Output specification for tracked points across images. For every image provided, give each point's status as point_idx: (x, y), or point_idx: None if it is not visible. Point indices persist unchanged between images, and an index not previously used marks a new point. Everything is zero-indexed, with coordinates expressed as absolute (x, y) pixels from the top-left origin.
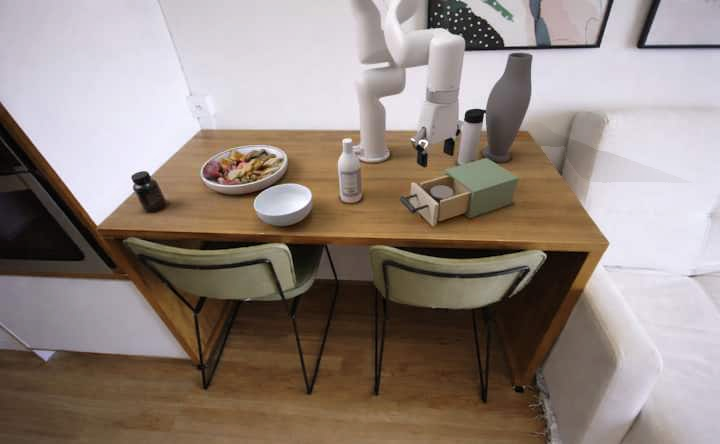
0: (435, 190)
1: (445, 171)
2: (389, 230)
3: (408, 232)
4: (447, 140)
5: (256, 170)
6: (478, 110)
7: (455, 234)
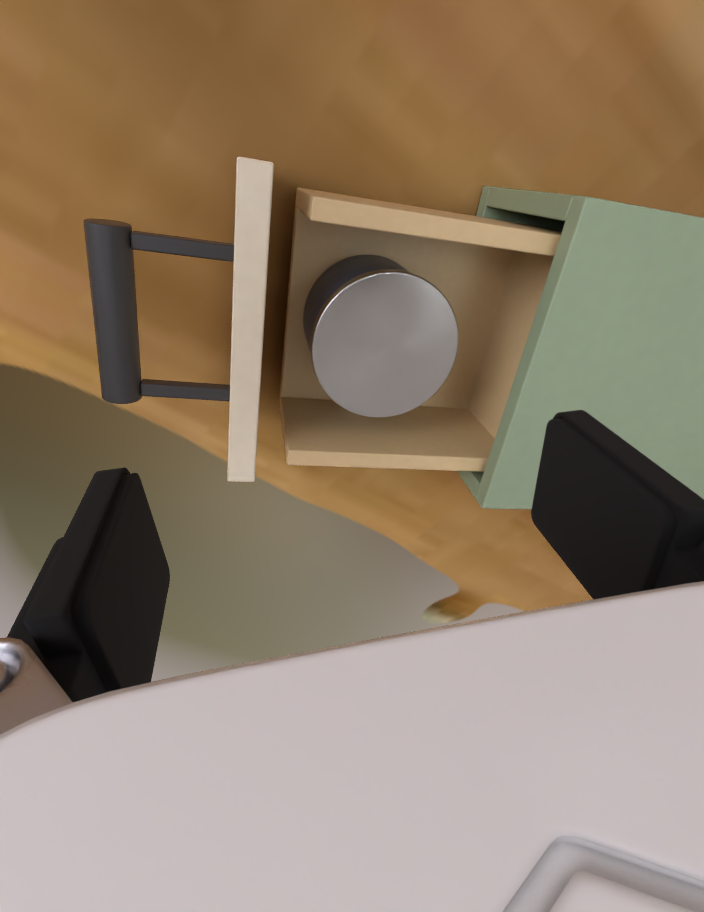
0: (361, 318)
1: (575, 204)
2: (2, 296)
3: None
4: (664, 554)
5: None
6: None
7: (299, 474)
